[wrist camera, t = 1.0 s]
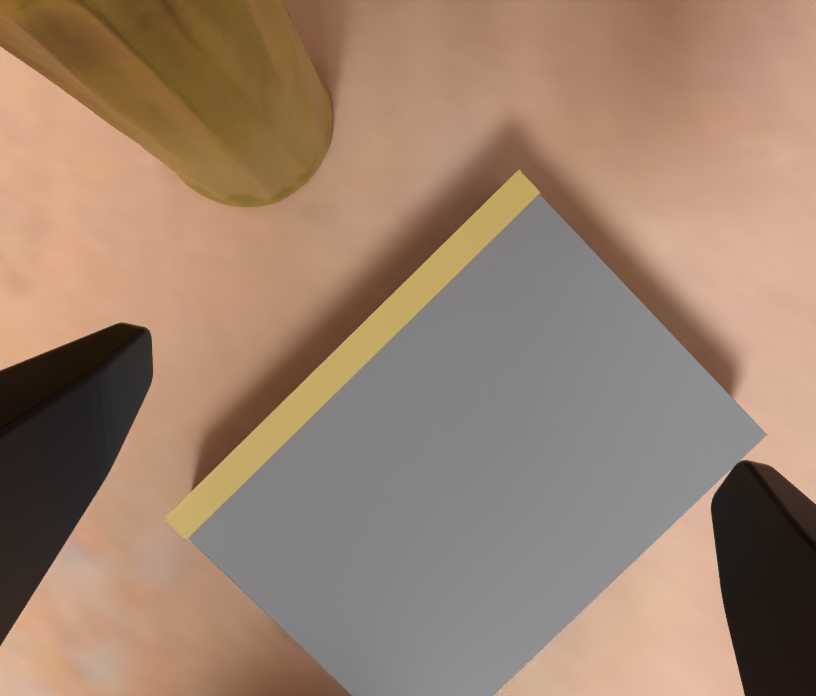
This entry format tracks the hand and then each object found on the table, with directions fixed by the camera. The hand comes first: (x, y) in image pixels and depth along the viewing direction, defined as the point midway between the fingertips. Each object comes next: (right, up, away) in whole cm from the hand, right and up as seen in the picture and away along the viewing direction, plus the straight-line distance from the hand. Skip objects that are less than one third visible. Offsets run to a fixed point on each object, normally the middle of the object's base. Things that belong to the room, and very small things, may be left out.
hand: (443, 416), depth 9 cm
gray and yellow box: (+1, -3, +14) cm, 14 cm away
